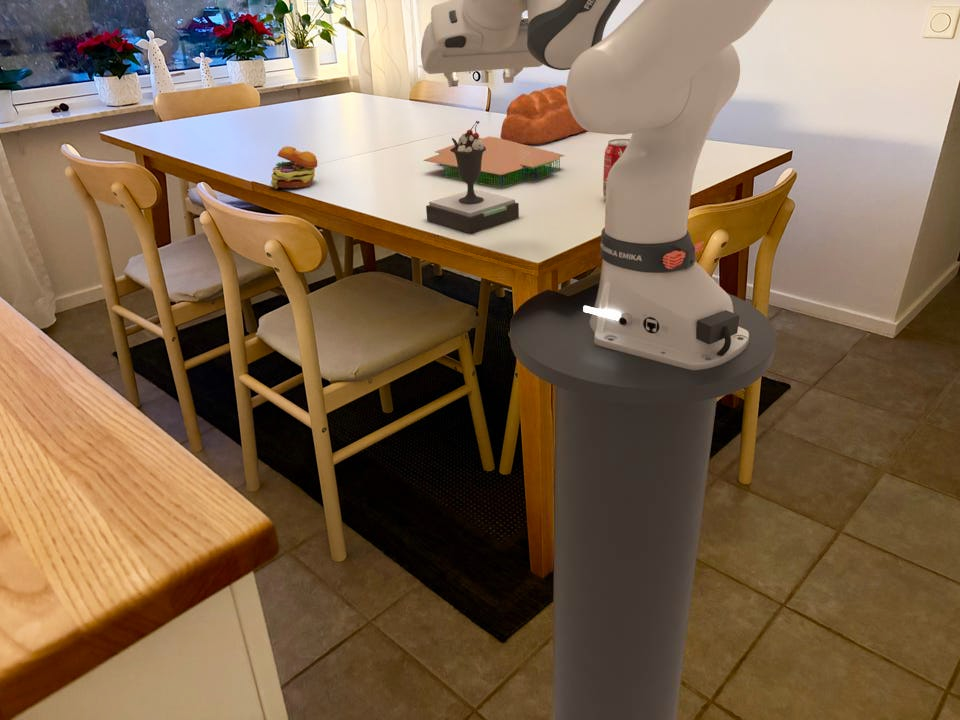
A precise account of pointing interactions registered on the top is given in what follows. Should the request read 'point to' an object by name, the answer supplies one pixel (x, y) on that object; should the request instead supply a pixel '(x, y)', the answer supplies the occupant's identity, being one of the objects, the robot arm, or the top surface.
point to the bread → (539, 117)
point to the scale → (472, 211)
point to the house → (503, 159)
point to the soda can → (612, 157)
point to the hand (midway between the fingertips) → (480, 81)
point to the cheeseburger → (294, 169)
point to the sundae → (469, 162)
